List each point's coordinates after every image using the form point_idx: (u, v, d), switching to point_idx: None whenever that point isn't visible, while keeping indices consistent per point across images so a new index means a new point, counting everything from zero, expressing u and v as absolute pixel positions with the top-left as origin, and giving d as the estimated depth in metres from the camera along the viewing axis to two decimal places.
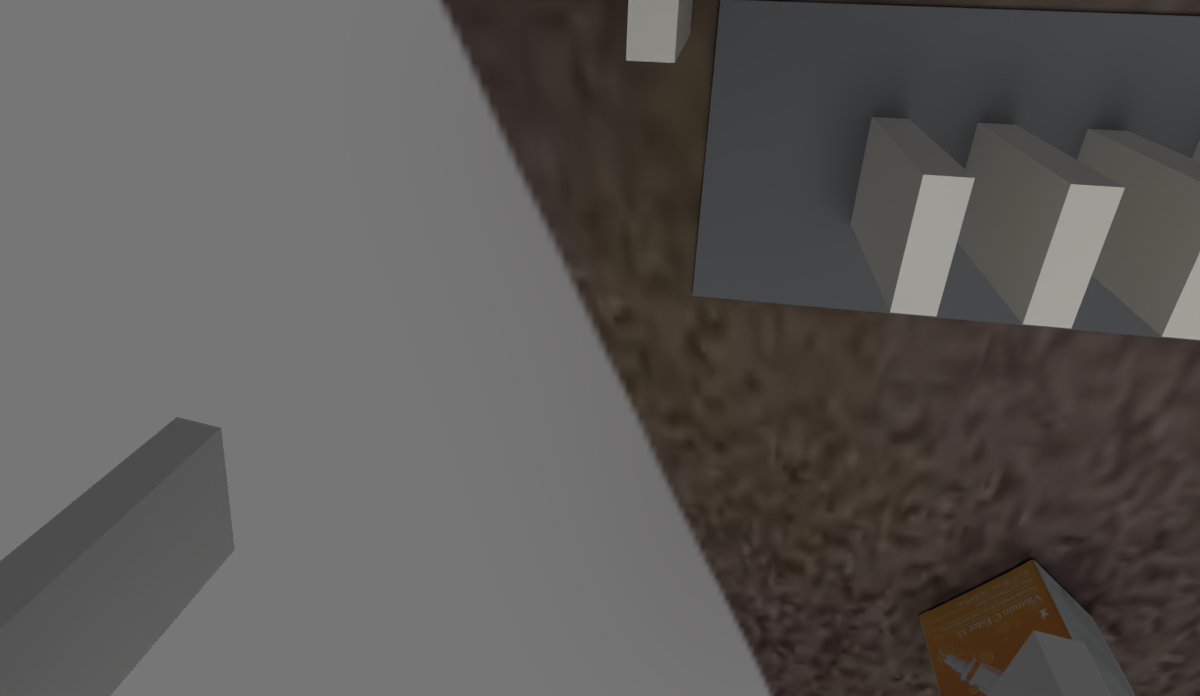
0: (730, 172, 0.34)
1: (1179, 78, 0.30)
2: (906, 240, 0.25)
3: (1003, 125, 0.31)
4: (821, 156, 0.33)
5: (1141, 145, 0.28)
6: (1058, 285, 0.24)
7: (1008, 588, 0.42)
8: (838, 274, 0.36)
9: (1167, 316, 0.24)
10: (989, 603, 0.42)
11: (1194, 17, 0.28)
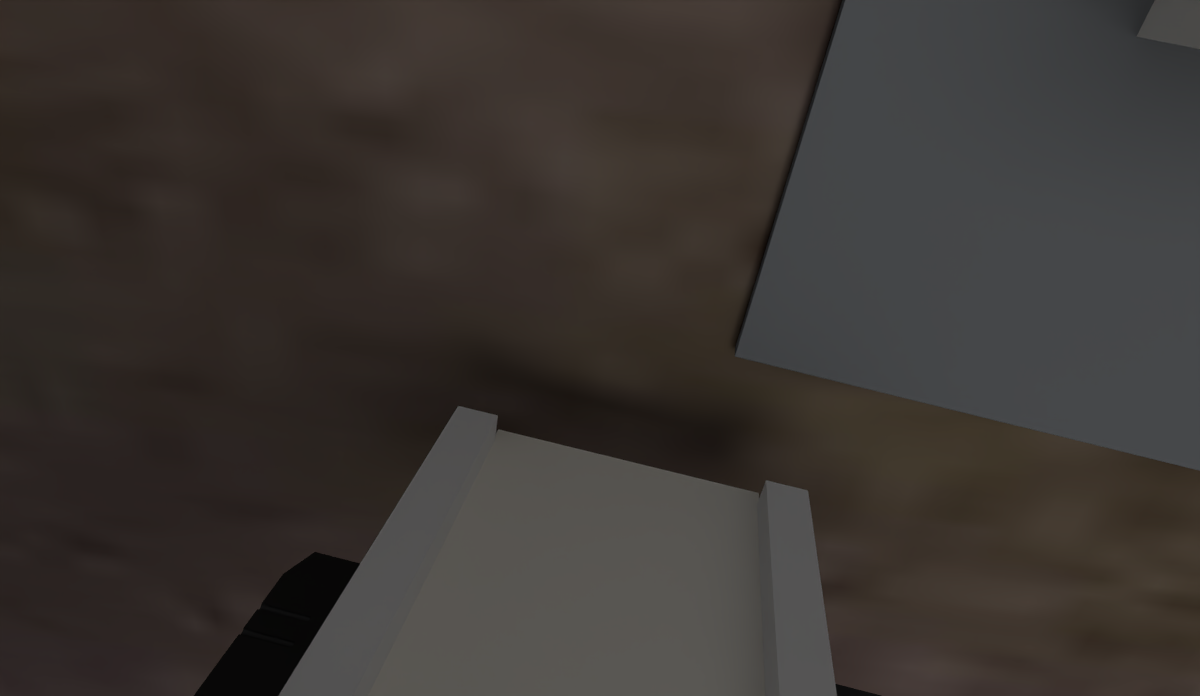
0: (1126, 393, 0.14)
1: None
2: None
3: None
4: (1190, 179, 0.12)
5: None
6: None
7: None
8: None
9: None
10: None
11: None
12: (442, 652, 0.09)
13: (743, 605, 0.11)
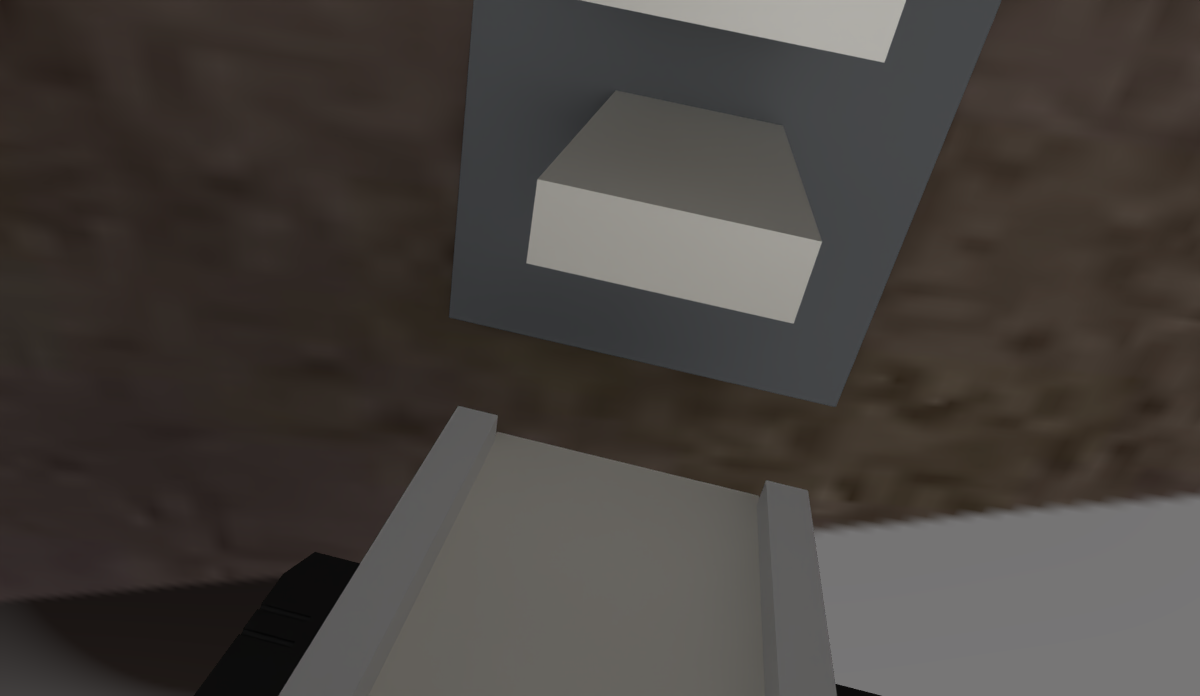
0: (658, 333, 0.25)
1: None
2: (649, 287, 0.13)
3: None
4: None
5: None
6: None
7: None
8: (853, 199, 0.22)
9: None
10: None
11: None
12: (440, 657, 0.09)
13: (743, 609, 0.11)
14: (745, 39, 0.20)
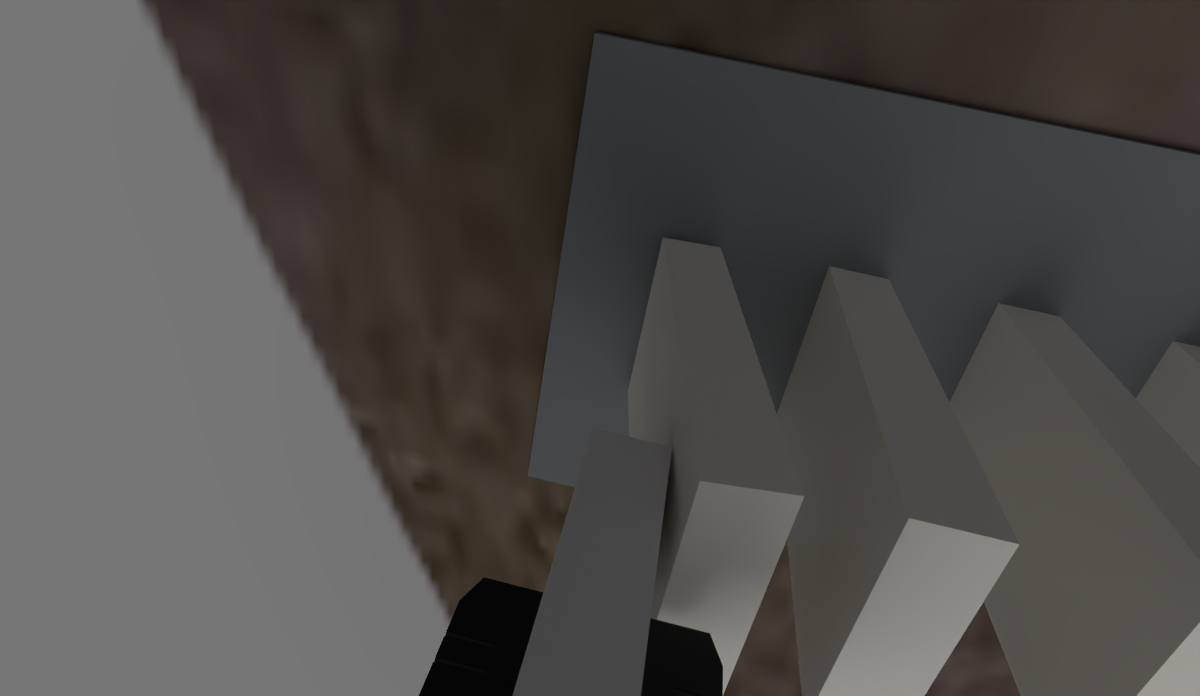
0: (595, 313, 0.21)
1: None
2: (853, 616, 0.12)
3: (1040, 316, 0.19)
4: None
5: None
6: None
7: None
8: None
9: None
10: None
11: None
12: None
13: None
14: None
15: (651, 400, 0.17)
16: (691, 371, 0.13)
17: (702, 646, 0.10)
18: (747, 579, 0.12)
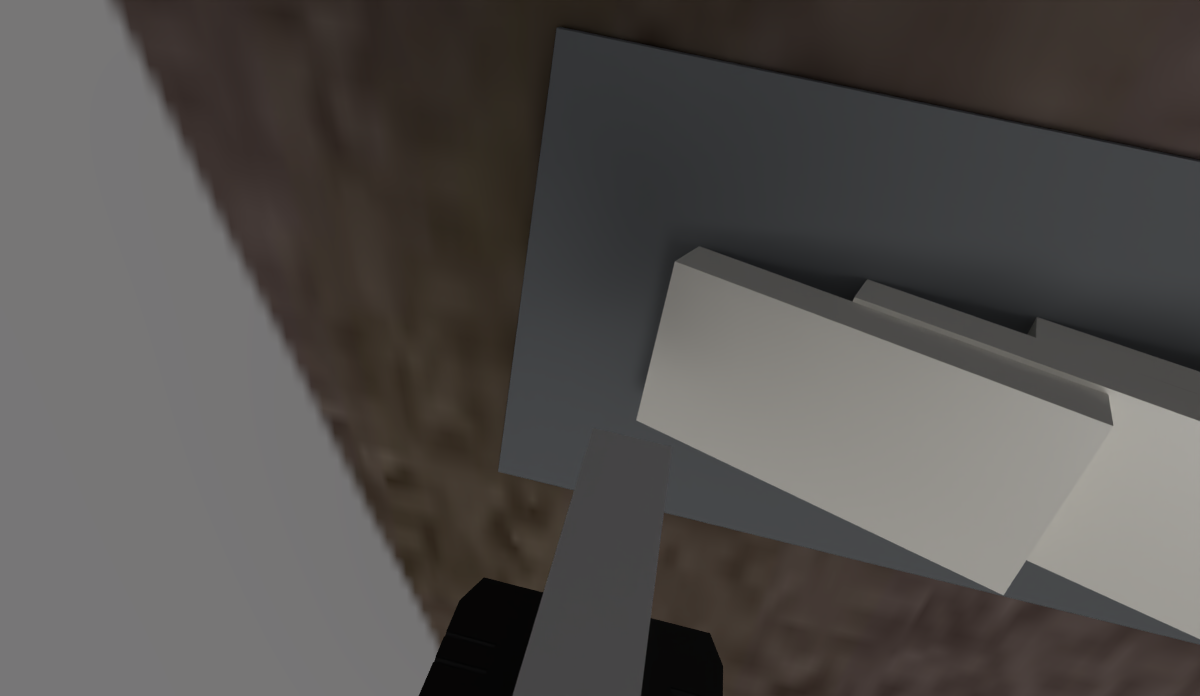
0: (562, 308, 0.21)
1: None
2: None
3: (1051, 330, 0.18)
4: None
5: None
6: None
7: None
8: (718, 479, 0.23)
9: None
10: None
11: None
12: None
13: None
14: None
15: (809, 408, 0.18)
16: (953, 362, 0.16)
17: (702, 646, 0.10)
18: None
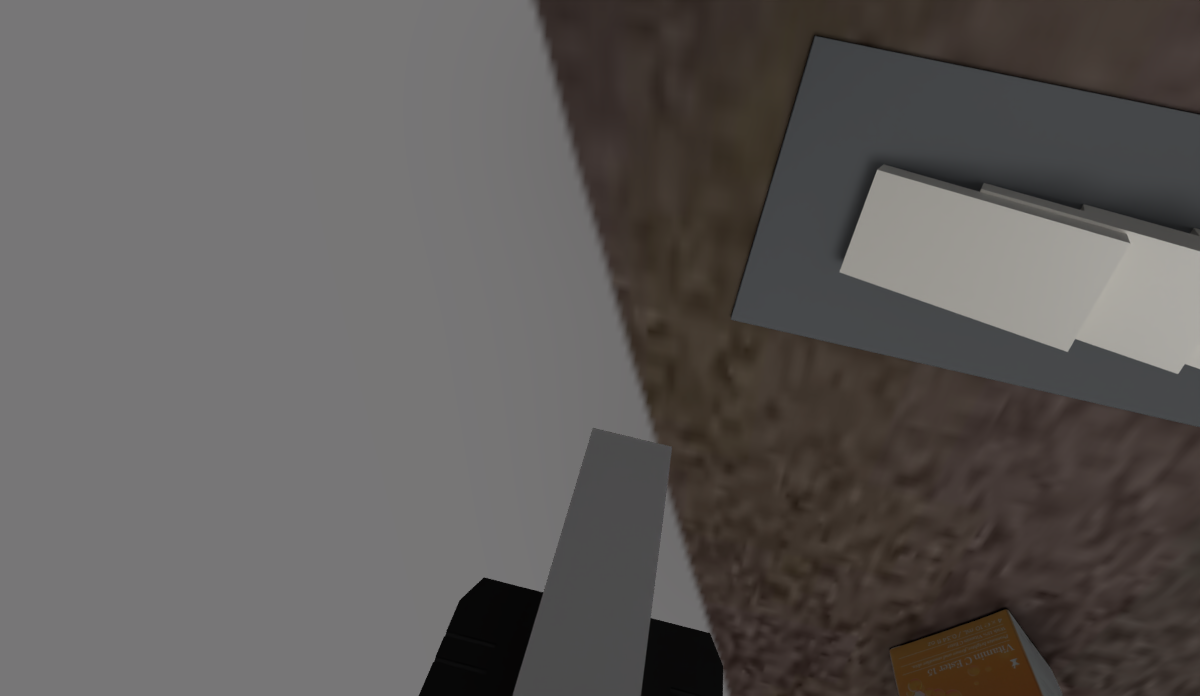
0: (792, 205, 0.35)
1: None
2: None
3: (1092, 209, 0.32)
4: None
5: None
6: None
7: (981, 634, 0.44)
8: (877, 319, 0.37)
9: None
10: (960, 646, 0.44)
11: None
12: None
13: None
14: None
15: (956, 252, 0.31)
16: (1043, 217, 0.29)
17: (702, 646, 0.10)
18: None
